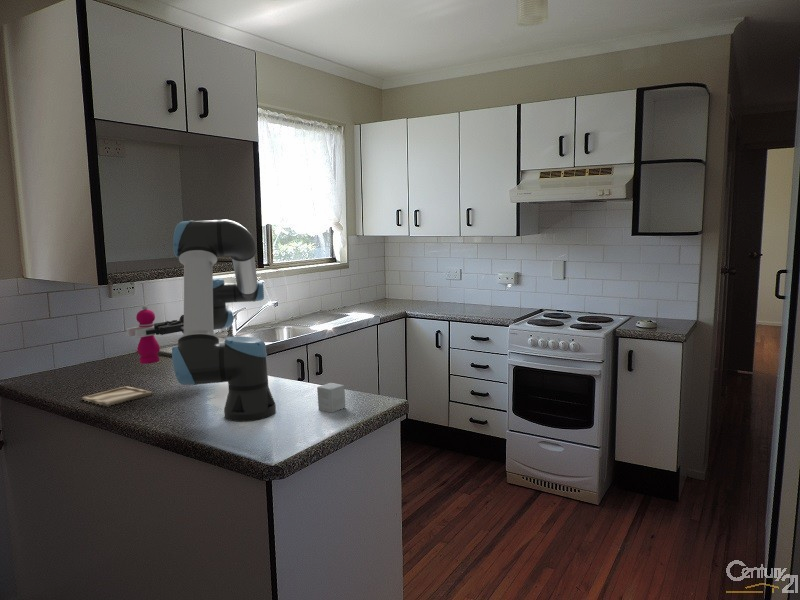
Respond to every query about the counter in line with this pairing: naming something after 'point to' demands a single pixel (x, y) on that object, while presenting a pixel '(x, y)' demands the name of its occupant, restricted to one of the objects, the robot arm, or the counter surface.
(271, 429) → the counter surface
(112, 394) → the oak tray
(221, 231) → the robot arm
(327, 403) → the product box
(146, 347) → the pepper mill
